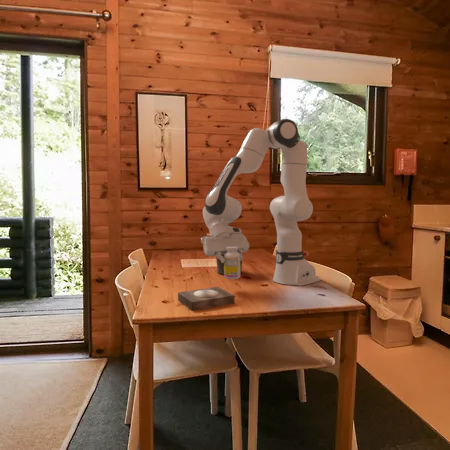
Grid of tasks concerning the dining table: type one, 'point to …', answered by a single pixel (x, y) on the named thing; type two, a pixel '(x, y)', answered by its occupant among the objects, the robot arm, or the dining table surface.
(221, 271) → the plant pot
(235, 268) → the supplement bottle
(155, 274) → the dining table surface
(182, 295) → the walnut board
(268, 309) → the dining table surface
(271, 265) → the dining table surface
